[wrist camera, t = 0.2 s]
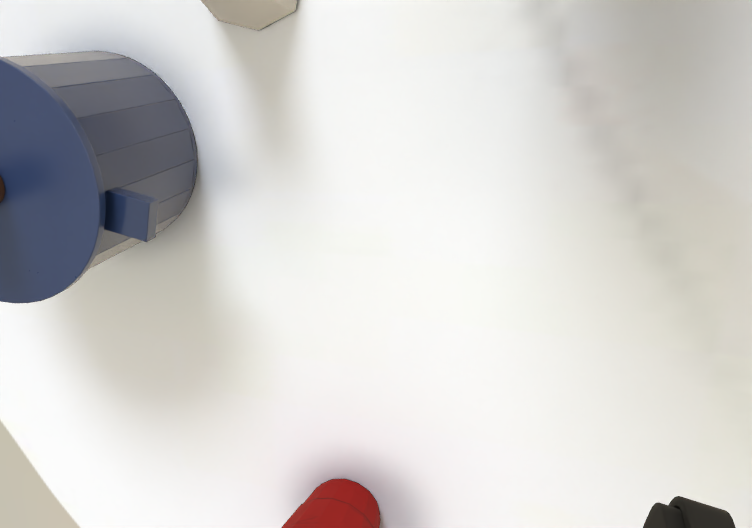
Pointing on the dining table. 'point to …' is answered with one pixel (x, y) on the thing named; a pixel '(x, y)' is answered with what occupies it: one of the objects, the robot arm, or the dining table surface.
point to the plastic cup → (337, 507)
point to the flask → (250, 11)
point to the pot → (126, 140)
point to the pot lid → (44, 191)
